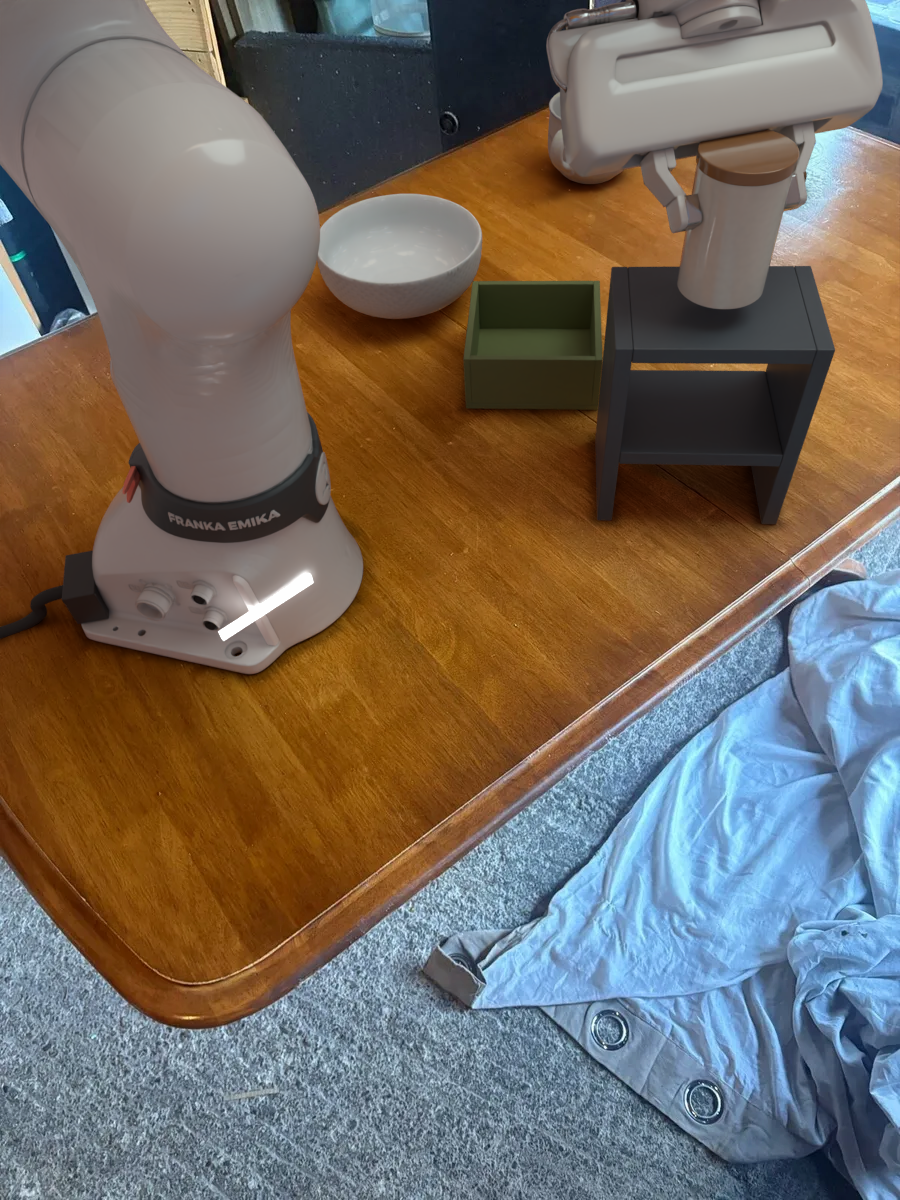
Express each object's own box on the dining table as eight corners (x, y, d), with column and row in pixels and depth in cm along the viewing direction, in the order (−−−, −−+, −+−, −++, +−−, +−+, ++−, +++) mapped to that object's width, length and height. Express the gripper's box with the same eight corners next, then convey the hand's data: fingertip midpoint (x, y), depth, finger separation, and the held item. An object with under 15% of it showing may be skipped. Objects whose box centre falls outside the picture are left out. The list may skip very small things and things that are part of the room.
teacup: (587, 142, 114) (591, 75, 107) (654, 170, 108) (663, 100, 102) (510, 184, 108) (510, 115, 102) (576, 215, 103) (580, 144, 97)
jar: (678, 310, 60) (702, 173, 52) (672, 260, 63) (693, 127, 56) (770, 310, 59) (807, 173, 52) (759, 260, 63) (791, 125, 56)
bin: (465, 408, 83) (463, 359, 79) (474, 330, 91) (472, 280, 86) (597, 410, 82) (602, 359, 78) (595, 330, 89) (599, 280, 85)
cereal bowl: (357, 362, 88) (347, 300, 83) (304, 279, 98) (292, 218, 92) (510, 314, 92) (510, 251, 86) (445, 238, 102) (441, 177, 96)
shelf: (597, 520, 74) (615, 349, 60) (595, 438, 80) (611, 266, 66) (776, 524, 72) (835, 349, 59) (760, 441, 78) (811, 265, 65)
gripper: (553, -15, 51) (602, 233, 52) (878, -66, 53) (914, 171, 55) (527, 43, 57) (571, 263, 59) (819, -6, 59) (853, 206, 61)
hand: (739, 218), depth 57 cm, fingers closed on jar, 6 cm apart
